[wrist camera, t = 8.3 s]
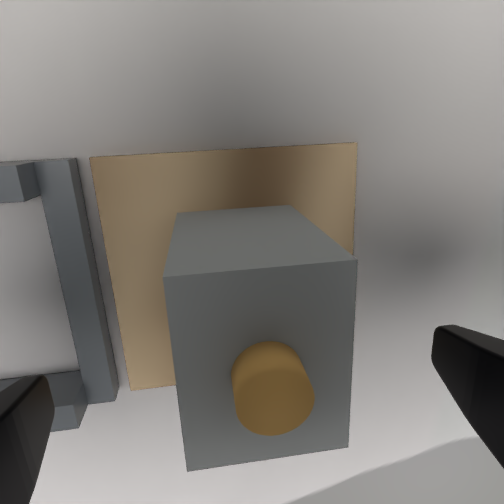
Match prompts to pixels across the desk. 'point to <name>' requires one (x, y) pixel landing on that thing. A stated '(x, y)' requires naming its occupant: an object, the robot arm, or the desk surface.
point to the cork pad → (202, 199)
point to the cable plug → (259, 334)
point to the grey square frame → (69, 283)
